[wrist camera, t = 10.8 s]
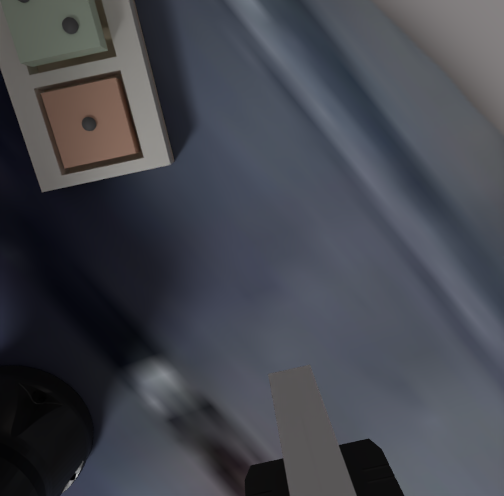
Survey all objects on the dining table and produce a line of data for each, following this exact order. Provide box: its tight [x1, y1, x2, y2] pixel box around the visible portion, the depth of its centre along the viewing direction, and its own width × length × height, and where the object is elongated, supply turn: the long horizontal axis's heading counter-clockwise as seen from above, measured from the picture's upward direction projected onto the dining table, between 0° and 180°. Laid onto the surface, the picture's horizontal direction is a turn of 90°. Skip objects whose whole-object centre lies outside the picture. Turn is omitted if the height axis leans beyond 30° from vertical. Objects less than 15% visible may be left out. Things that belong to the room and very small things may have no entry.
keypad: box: [0, 0, 175, 192], centre depth 37 cm, size 11×25×3 cm, turn 12°
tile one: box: [41, 78, 141, 168], centre depth 38 cm, size 6×6×2 cm
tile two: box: [0, 0, 108, 67], centre depth 34 cm, size 6×6×2 cm
